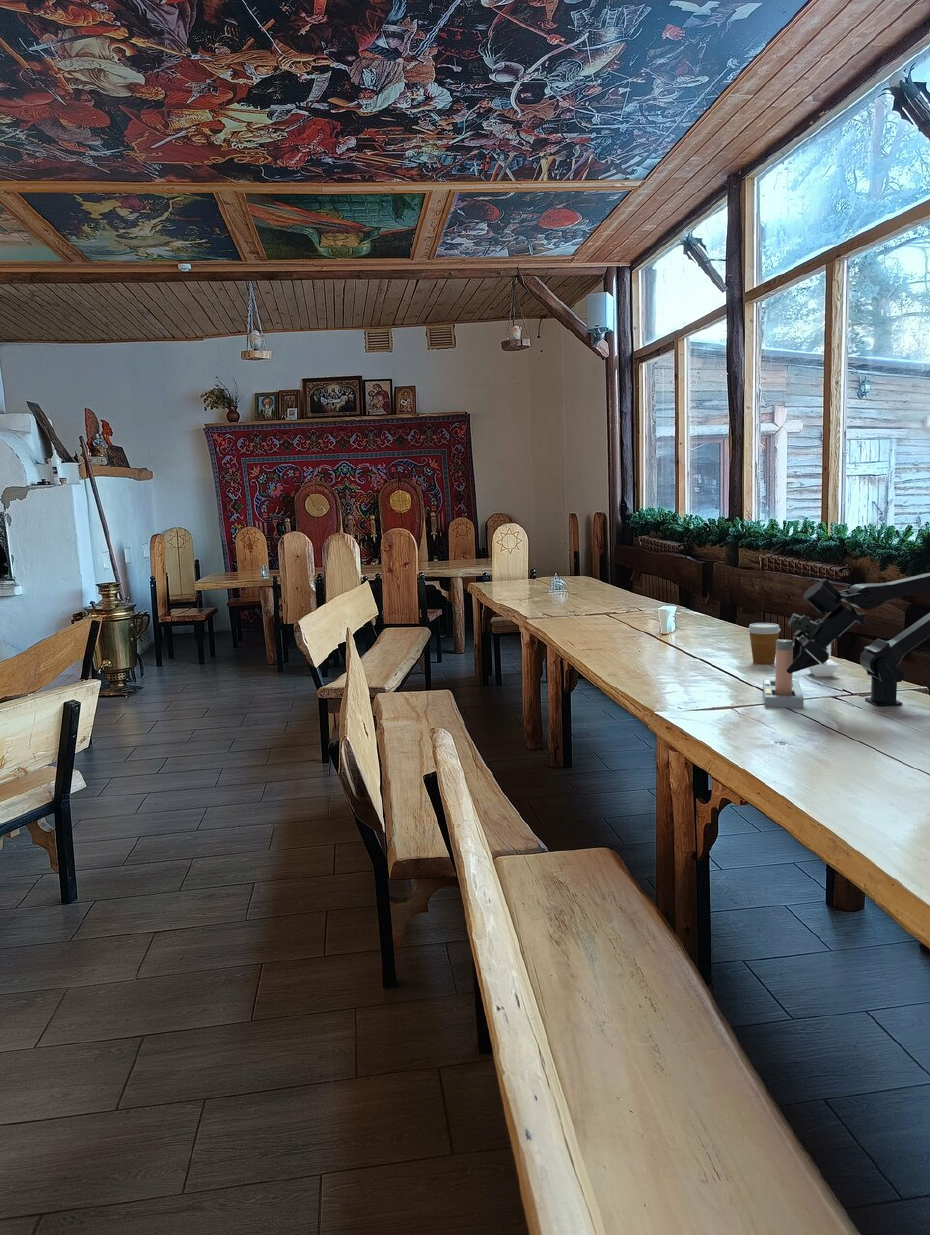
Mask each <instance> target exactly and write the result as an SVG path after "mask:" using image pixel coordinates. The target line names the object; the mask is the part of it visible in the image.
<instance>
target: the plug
mask: <svg viewBox="0 0 930 1235" xmlns="http://www.w3.org/2000/svg"><path fill="white" fill-rule="evenodd" d="M793 645H794V640H792V639H778V640H776V655H775V674H774V675H775V678H774V679H775V695H783V696H792V680H793V673H791V674H789V673H788V672H787V671H786V670H787V669H788V668H789V666H790V665H791V664H792V663H793Z"/></svg>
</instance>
